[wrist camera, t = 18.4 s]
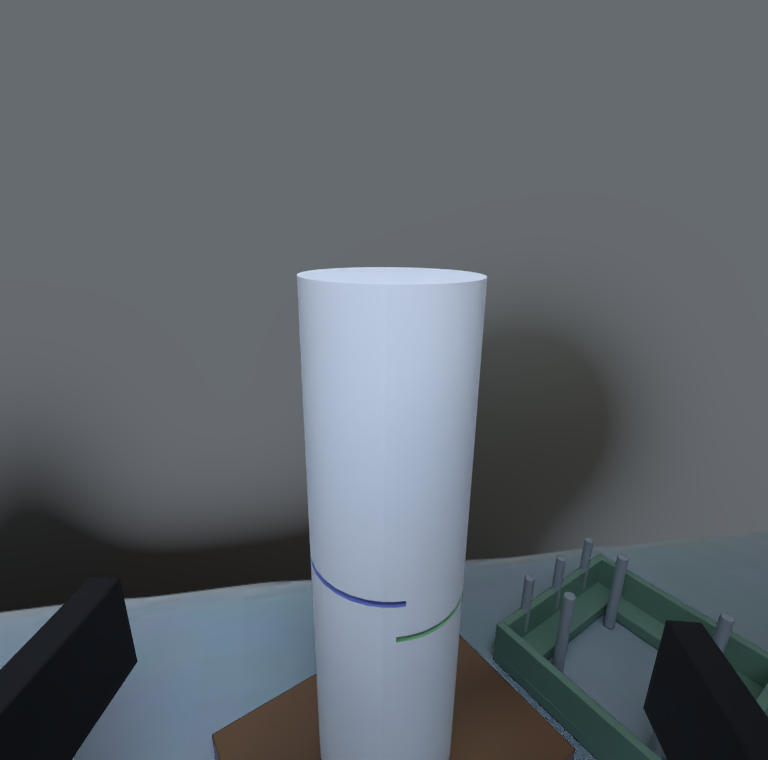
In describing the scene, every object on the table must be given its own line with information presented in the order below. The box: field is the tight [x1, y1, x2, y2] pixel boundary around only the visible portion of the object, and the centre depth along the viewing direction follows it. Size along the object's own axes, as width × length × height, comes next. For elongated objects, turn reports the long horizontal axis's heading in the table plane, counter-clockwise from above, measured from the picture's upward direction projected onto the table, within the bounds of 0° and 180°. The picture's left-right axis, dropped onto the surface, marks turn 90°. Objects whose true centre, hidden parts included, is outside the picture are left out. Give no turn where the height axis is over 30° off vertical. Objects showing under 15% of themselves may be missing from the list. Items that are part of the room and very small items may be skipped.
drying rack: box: [493, 537, 768, 760], centre depth 33 cm, size 14×14×7 cm
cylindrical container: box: [297, 267, 487, 760], centre depth 21 cm, size 7×7×25 cm
